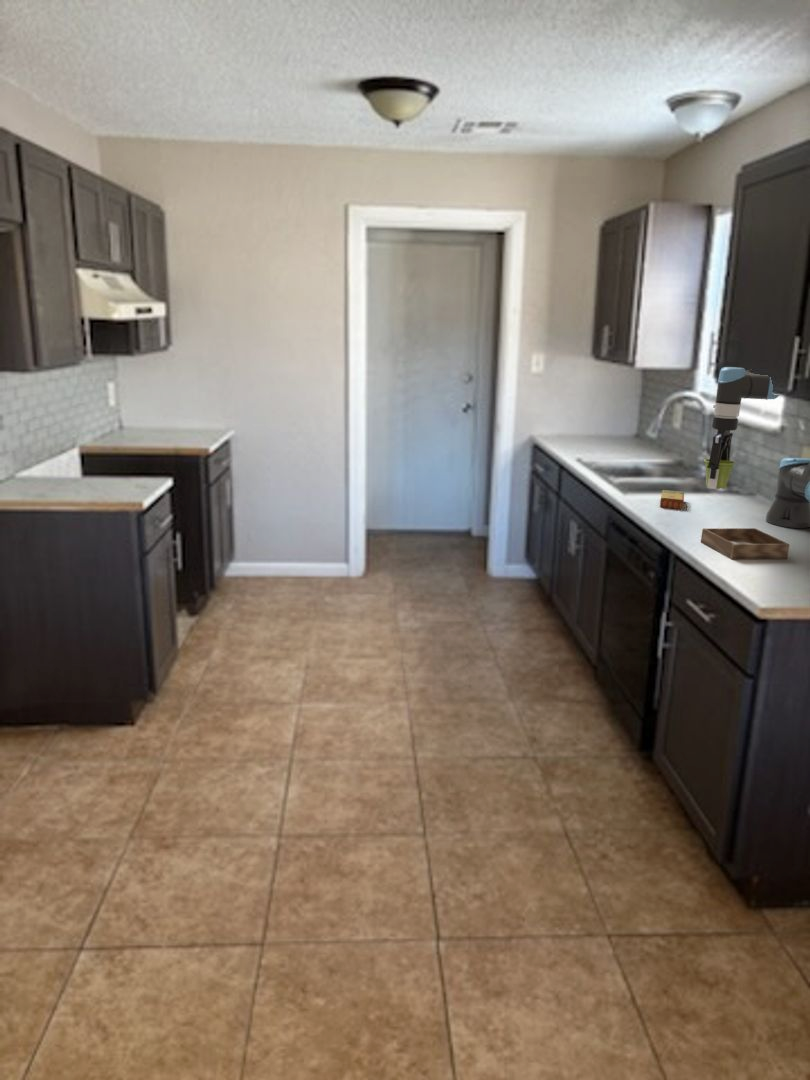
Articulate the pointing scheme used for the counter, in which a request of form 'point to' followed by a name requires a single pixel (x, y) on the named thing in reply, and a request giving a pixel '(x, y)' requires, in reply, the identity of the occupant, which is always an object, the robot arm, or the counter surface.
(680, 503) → the carton
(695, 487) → the counter surface
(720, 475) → the plant pot
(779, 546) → the brown wooden square tray
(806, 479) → the robot arm
